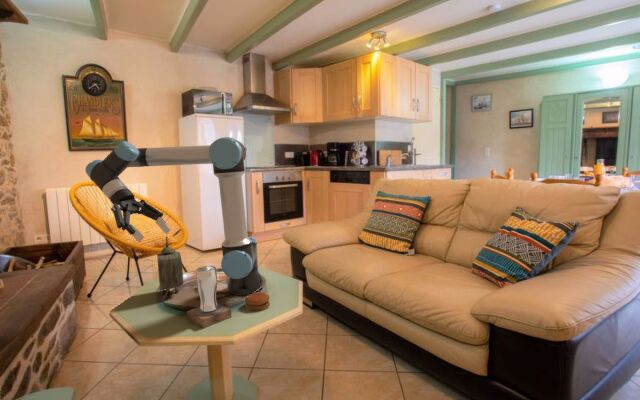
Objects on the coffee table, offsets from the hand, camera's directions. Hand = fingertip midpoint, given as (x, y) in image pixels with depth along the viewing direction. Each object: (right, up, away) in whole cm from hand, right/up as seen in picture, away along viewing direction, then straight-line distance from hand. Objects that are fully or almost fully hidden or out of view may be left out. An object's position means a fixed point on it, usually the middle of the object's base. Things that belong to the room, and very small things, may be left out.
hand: (155, 235), depth 131 cm
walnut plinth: (+20, -29, -2) cm, 36 cm away
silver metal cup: (+20, -26, -2) cm, 33 cm away
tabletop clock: (-4, -27, +24) cm, 36 cm away
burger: (+36, -28, +8) cm, 46 cm away
